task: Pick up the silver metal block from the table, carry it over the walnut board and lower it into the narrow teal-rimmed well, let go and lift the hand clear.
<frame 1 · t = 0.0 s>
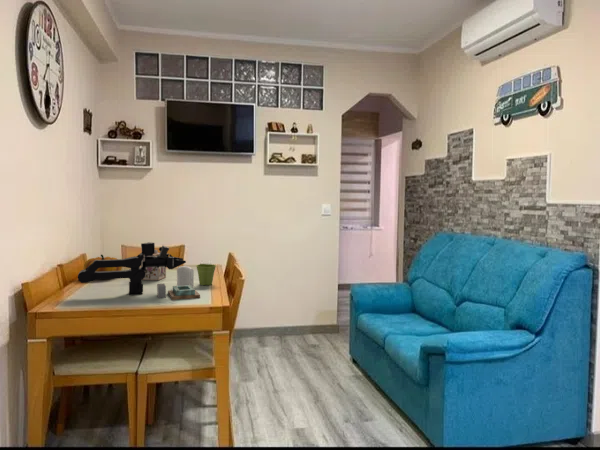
hand: (184, 260, 248), 17 cm above the table, tool horizontal, fingers open, 9 cm apart
decorative pumpkin: (103, 278, 281), on the table
silver metal block: (161, 296, 233), on the table
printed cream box: (185, 288, 256), on the table
decorative jar: (153, 279, 282), on the table
well board: (183, 295, 236), on the table
plant pot: (206, 284, 267), on the table
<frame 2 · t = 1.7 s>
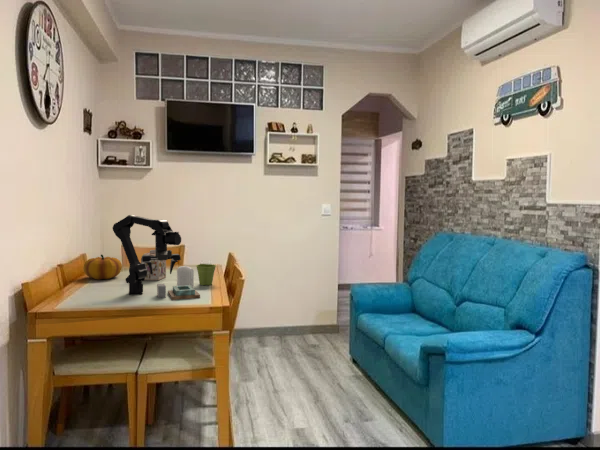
hand: (161, 274, 233), 11 cm above the table, tool pointing down, fingers open, 9 cm apart
nothing on the table moved.
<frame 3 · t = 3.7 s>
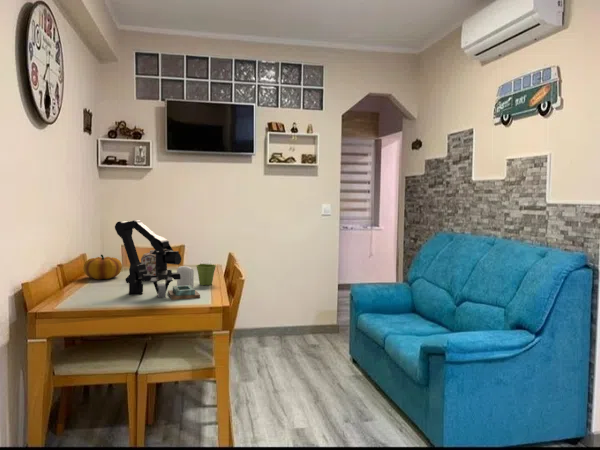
hand: (161, 293, 233), 2 cm above the table, tool pointing down, fingers closed on silver metal block, 3 cm apart
silver metal block: (161, 296, 233), on the table, touching gripper
everything else where it was.
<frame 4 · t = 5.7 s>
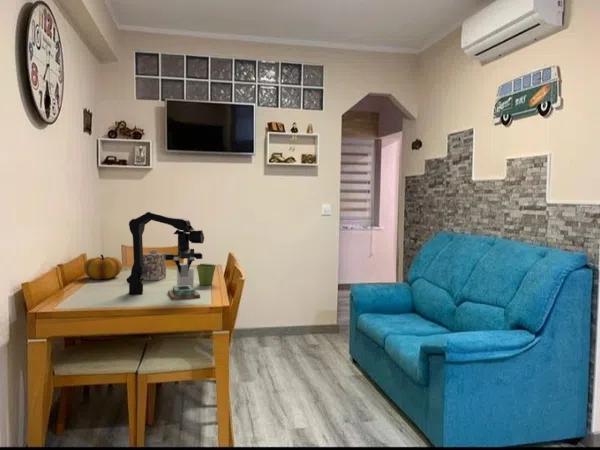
hand: (183, 272, 235), 12 cm above the table, tool pointing down, fingers closed on silver metal block, 3 cm apart
silver metal block: (183, 275, 235), point 10 cm above the table, touching gripper
everything else where it was.
when the fingers open (5 cm above the table, at t = 7.6 s): silver metal block drops 2 cm, resting on well board.
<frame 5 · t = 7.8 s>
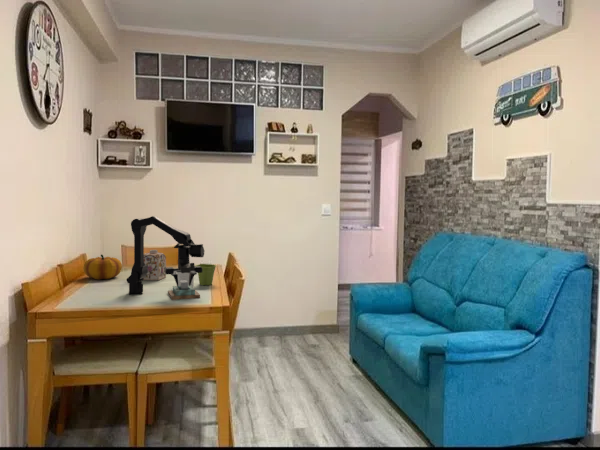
hand: (183, 286, 236), 5 cm above the table, tool pointing down, fingers open, 6 cm apart
silver metal block: (183, 292, 236), point 2 cm above the table, touching well board
everything else where it was.
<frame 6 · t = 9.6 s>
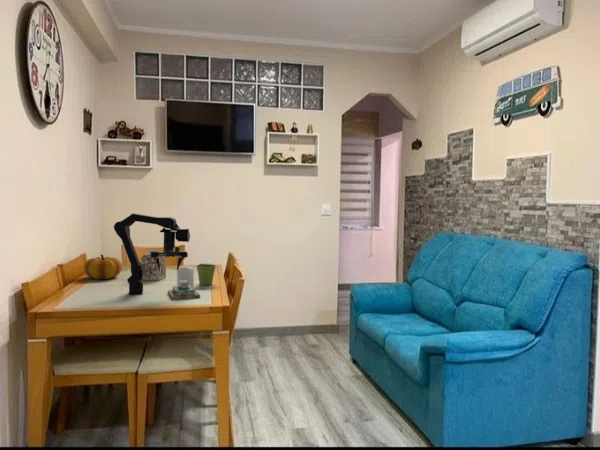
hand: (168, 270, 239), 13 cm above the table, tool pointing down, fingers open, 9 cm apart
nothing on the table moved.
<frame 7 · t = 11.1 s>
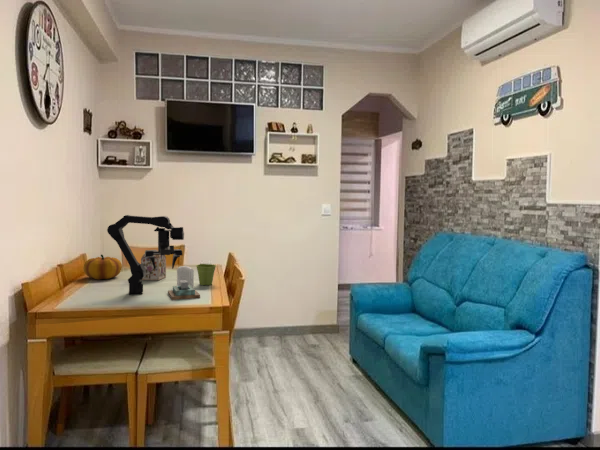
hand: (163, 269, 240), 13 cm above the table, tool pointing down, fingers open, 9 cm apart
nothing on the table moved.
at the end: silver metal block 0.0 cm off-centre on the well board, point 1.5 cm above the well board's base; silver metal block tilted 0°; the gripper is holding nothing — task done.
